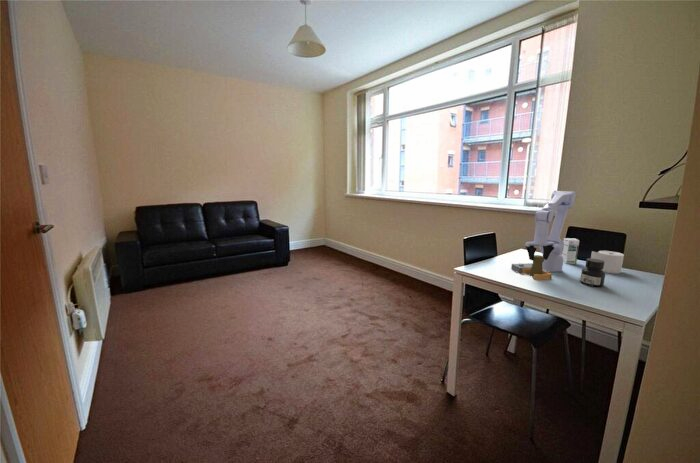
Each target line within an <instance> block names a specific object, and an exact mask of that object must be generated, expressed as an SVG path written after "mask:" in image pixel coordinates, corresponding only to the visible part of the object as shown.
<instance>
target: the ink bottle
mask: <svg viewBox="0 0 700 463" xmlns="http://www.w3.org/2000/svg"><path fill="white" fill-rule="evenodd" d="M604 263H605V261H603V260H599V259H592V258H591V257H590V258H586V261H585V267H583V268H582V269H581V273H580V280H579V282H580V283H581V284H583V285H585V286H589V287H594V288H595V287H596V288H601V287H604V283H605V279H606V272H604V271H603V270H602V269H604Z"/></svg>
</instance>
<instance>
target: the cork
mask: <svg viewBox="0 0 700 463" xmlns="http://www.w3.org/2000/svg"><path fill="white" fill-rule="evenodd" d="M543 262H544V257H543V255H539V254H537V255H536V254H534V259H533V260H532V267H531V271H530V273H528V274H529V275H528V276H530V277H531V276H532V277H531V278H533V277H534V274H543V268H542V263H543Z"/></svg>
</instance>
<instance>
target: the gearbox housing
mask: <svg viewBox="0 0 700 463" xmlns="http://www.w3.org/2000/svg"><path fill="white" fill-rule="evenodd" d="M532 264H533V262H531V263H526V262H525V263H520V262H519V263H511V267H510V269H511V270H512V271H514V270H515V271H514V272H517V273H518V274H523V273H526V274H530V271H531V267H532ZM552 277H553V274H552V272H546V271H544V270H543V274H534V277H532V280H552Z"/></svg>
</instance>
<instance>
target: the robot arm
mask: <svg viewBox="0 0 700 463" xmlns="http://www.w3.org/2000/svg"><path fill="white" fill-rule="evenodd" d="M576 194H577V193H576V192H575V191H573V190H572V191H567V190H566V191H565V190H554V191H553V192H552V193H551V201H550V202H547V203H546V204H544V206H543V207H542V208H541V209H539V210H537V211H535V214H534V224H535V228H534V238H533V240H532V241H526V242H525V244H524V245H525V249H526V250H527V254H528V260H530V261H533V259H534V255H536V254H535V253H536V251H537V247H539V250H540V252H541V254H542V256H543V257H544V262H543V263H542V268H543V270H544V271H546V272H548V273H553V272H554V273H555V272H558V273H559V272H564V270H563V265H564V262H563V257H562V252H563V249H564V242H563V241H564V240H562V239H561V235H562V230H563V228H564V225H565V223H566V222H565V221H566V218H567V215H568V212H569V210H570V209H573V207H574V205H575V201H576V197H577V196H576ZM554 215H555V217H554ZM553 217H554V219H553ZM552 221H553V223H552V226H551V229H550V223H551V222H552Z"/></svg>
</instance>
